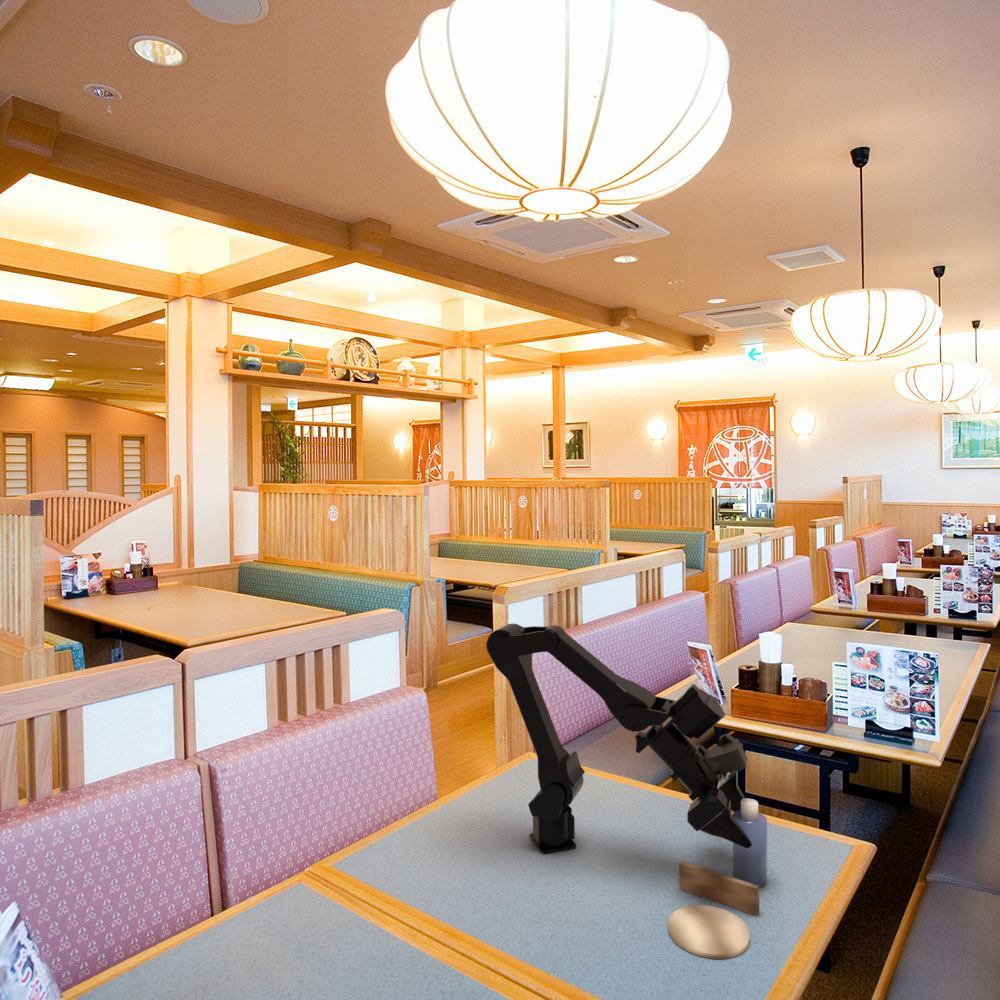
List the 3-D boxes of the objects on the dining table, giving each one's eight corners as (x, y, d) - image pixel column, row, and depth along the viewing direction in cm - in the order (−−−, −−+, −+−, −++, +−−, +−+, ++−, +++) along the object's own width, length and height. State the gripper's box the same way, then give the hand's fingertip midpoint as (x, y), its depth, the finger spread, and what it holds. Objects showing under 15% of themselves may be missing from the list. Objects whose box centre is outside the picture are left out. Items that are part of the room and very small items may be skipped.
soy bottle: (746, 891, 113) (745, 811, 113) (726, 874, 118) (725, 797, 118) (774, 885, 114) (773, 806, 114) (753, 868, 119) (753, 793, 119)
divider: (679, 888, 114) (679, 863, 114) (682, 886, 115) (681, 860, 115) (757, 916, 107) (756, 889, 106) (759, 912, 107) (759, 885, 107)
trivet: (695, 966, 96) (695, 960, 96) (653, 918, 106) (653, 913, 106) (766, 949, 99) (766, 943, 99) (719, 904, 110) (719, 899, 110)
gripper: (708, 744, 109) (789, 829, 105) (721, 707, 126) (791, 779, 122) (656, 789, 112) (732, 873, 108) (676, 747, 129) (742, 818, 125)
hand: (752, 832), depth 116 cm, fingers open, 9 cm apart
